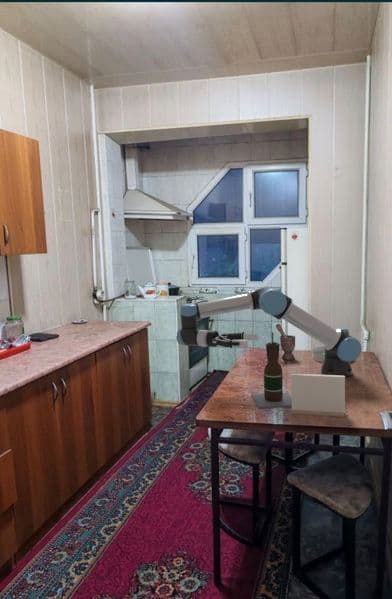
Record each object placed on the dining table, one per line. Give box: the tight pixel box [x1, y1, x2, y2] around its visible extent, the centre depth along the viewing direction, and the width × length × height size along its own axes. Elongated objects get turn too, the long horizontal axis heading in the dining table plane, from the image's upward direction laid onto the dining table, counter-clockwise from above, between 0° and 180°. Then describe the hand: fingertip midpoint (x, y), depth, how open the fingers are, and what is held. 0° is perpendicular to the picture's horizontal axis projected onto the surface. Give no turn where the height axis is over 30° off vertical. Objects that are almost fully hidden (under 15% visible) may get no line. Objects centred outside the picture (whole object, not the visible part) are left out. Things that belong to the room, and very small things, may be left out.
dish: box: [311, 346, 325, 363], centre depth 262 cm, size 22×22×5 cm
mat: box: [251, 392, 292, 409], centre depth 194 cm, size 16×16×1 cm
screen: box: [291, 373, 346, 418], centre depth 178 cm, size 20×6×15 cm, turn 75°
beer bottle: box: [263, 342, 284, 402], centre depth 192 cm, size 8×8×24 cm
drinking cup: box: [265, 332, 281, 361], centre depth 242 cm, size 8×8×20 cm
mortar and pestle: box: [275, 323, 296, 361], centre depth 265 cm, size 12×9×20 cm
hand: (252, 340), depth 201 cm, fingers open, 13 cm apart
